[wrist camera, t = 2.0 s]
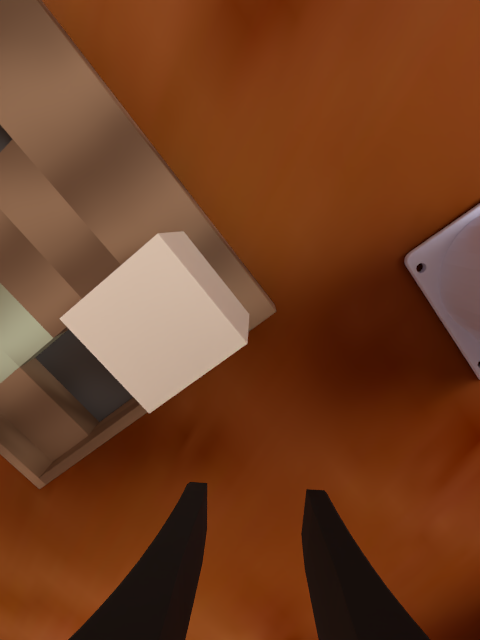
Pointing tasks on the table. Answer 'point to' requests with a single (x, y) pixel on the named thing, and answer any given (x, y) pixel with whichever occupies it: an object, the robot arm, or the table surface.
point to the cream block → (160, 320)
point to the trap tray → (75, 240)
